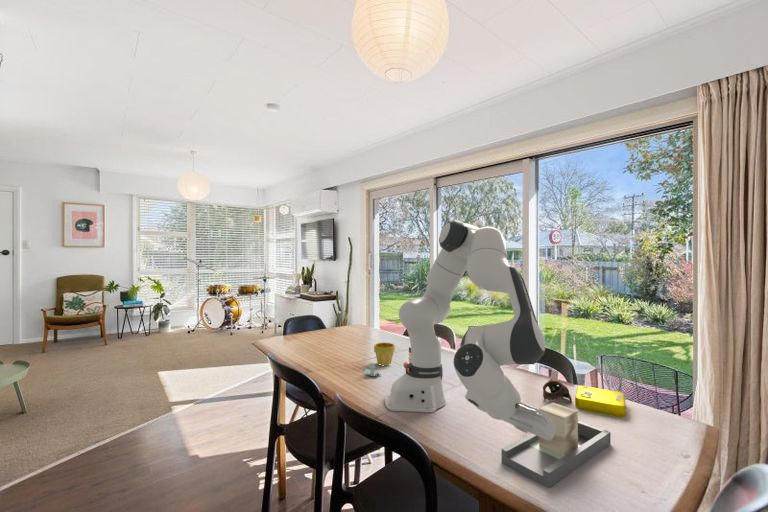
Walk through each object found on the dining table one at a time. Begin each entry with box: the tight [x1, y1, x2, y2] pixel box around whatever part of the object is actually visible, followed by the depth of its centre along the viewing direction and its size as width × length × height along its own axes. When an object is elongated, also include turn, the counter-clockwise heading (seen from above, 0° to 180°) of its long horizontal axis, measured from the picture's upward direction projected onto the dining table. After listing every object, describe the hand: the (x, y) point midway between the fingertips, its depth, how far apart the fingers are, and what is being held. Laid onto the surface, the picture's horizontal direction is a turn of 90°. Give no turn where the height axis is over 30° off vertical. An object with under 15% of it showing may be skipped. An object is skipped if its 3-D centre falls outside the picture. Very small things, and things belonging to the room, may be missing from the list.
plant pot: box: [373, 342, 396, 366], centre depth 180 cm, size 10×10×10 cm
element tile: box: [574, 385, 627, 419], centre depth 129 cm, size 15×15×5 cm
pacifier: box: [364, 362, 381, 377], centre depth 163 cm, size 7×6×6 cm
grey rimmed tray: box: [500, 420, 612, 489], centre depth 98 cm, size 32×13×4 cm, turn 126°
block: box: [538, 402, 579, 456], centre depth 97 cm, size 7×7×10 cm
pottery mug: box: [542, 379, 573, 403], centre depth 135 cm, size 12×10×8 cm
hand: (523, 428), depth 89 cm, fingers closed
